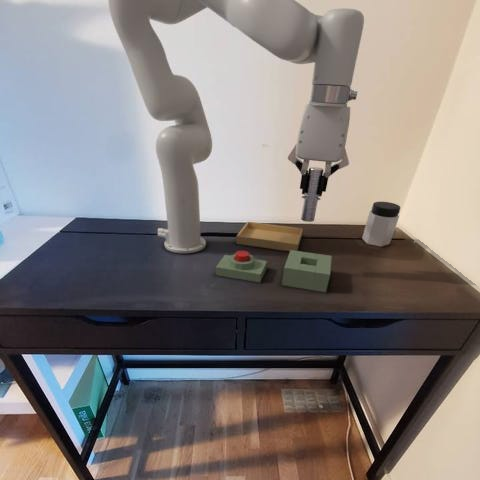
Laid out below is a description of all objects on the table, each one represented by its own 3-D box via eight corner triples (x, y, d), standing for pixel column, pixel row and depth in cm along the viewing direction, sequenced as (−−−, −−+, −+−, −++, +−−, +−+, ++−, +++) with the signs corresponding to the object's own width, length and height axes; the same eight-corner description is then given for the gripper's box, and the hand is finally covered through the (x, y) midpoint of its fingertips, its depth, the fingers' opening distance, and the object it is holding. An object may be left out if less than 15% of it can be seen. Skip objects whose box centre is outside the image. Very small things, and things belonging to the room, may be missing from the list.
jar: (377, 248, 100) (389, 210, 93) (357, 239, 105) (367, 203, 98) (394, 243, 104) (407, 206, 97) (373, 235, 109) (384, 200, 102)
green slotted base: (281, 285, 79) (284, 267, 76) (288, 266, 87) (290, 249, 84) (325, 292, 77) (330, 274, 74) (327, 272, 85) (331, 255, 82)
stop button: (233, 261, 81) (233, 255, 80) (237, 256, 83) (237, 249, 82) (247, 263, 80) (247, 257, 79) (250, 257, 83) (250, 251, 82)
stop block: (215, 275, 82) (215, 261, 79) (224, 262, 88) (224, 249, 86) (260, 282, 79) (261, 268, 77) (266, 269, 86) (267, 255, 83)
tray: (236, 243, 99) (236, 235, 97) (247, 228, 110) (247, 221, 109) (296, 252, 95) (297, 244, 94) (301, 236, 106) (302, 228, 105)
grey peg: (297, 221, 75) (305, 169, 68) (299, 215, 79) (307, 165, 72) (315, 223, 74) (325, 171, 67) (317, 218, 78) (326, 167, 71)
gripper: (371, 99, 63) (348, 193, 74) (290, 94, 66) (280, 185, 77) (373, 100, 57) (348, 202, 68) (285, 94, 60) (274, 193, 71)
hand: (312, 192), depth 73 cm, fingers closed on grey peg, 3 cm apart
